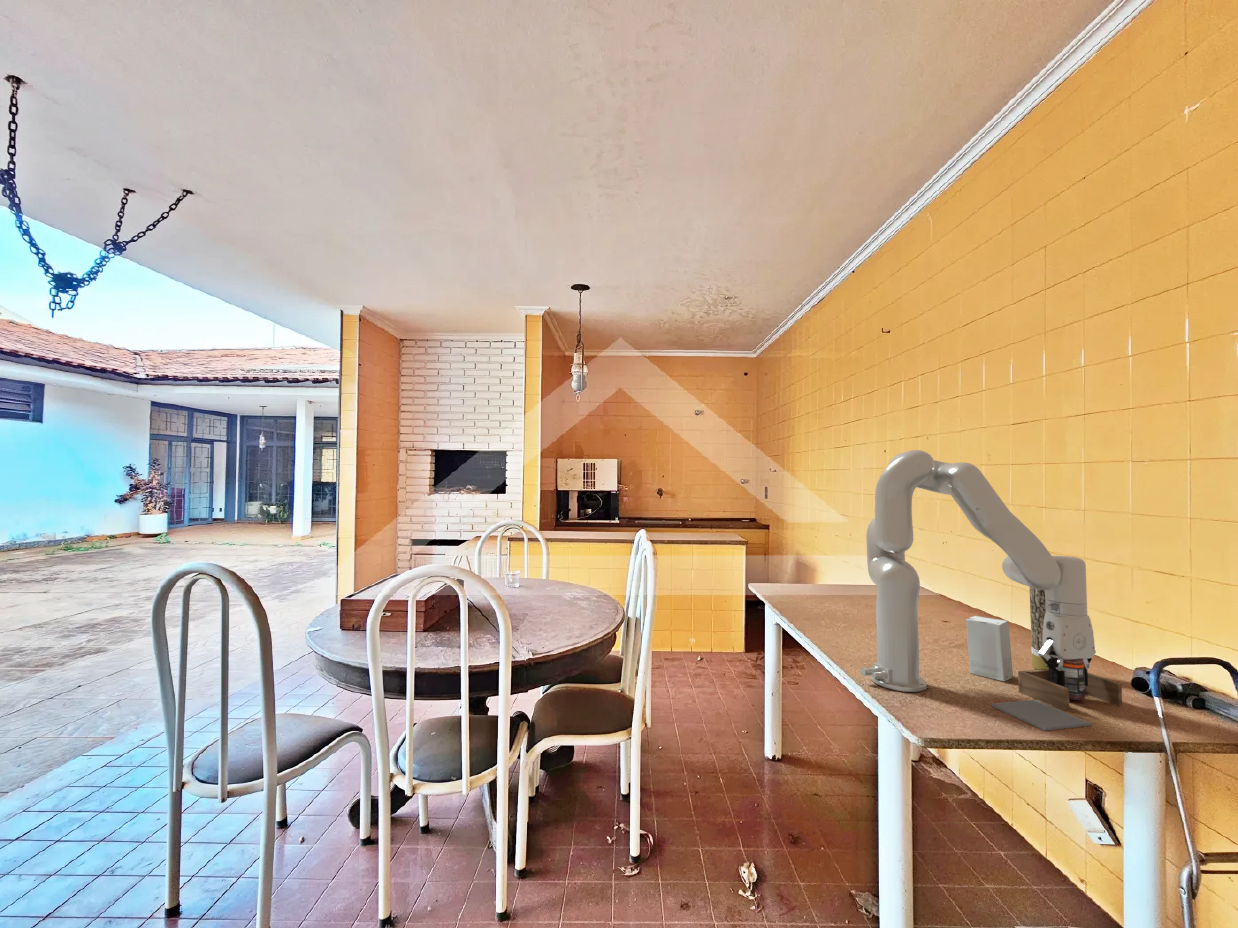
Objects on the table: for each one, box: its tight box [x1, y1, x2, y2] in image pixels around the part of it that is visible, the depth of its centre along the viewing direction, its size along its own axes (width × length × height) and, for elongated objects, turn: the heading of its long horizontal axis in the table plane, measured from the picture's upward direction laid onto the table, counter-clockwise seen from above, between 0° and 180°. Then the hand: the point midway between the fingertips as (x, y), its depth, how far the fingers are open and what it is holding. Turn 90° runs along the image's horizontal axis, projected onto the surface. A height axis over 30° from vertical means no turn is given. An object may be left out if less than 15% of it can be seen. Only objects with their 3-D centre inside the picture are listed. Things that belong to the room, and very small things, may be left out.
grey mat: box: [990, 699, 1092, 732], centre depth 111 cm, size 12×12×1 cm
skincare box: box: [965, 615, 1014, 682], centre depth 135 cm, size 8×6×15 cm
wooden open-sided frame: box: [1017, 669, 1123, 712], centre depth 120 cm, size 16×11×5 cm
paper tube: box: [1028, 586, 1049, 670], centre depth 139 cm, size 7×7×25 cm
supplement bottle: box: [1054, 653, 1086, 700], centre depth 120 cm, size 6×6×11 cm
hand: (1068, 684), depth 120 cm, fingers closed on supplement bottle, 6 cm apart
